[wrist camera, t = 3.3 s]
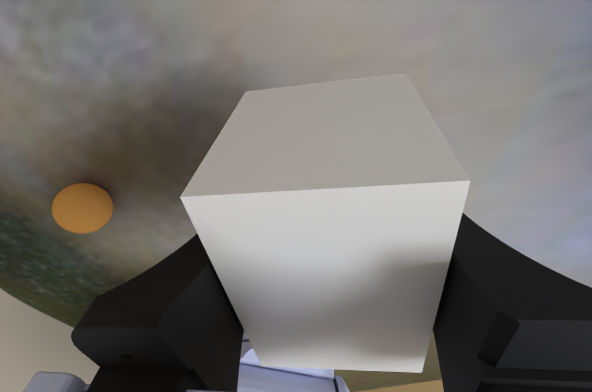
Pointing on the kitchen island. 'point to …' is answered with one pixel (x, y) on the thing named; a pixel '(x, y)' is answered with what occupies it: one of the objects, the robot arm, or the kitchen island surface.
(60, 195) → the ball
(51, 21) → the kitchen island surface
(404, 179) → the white rectangular prism
